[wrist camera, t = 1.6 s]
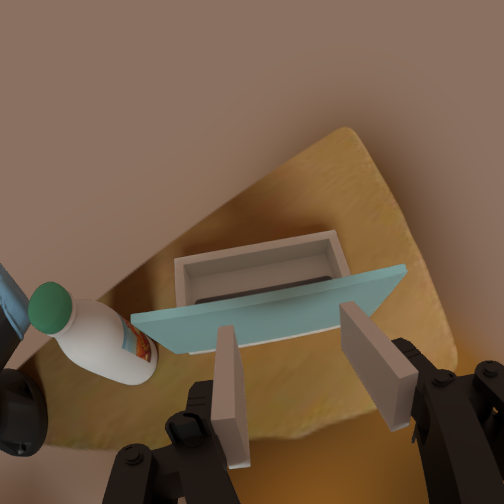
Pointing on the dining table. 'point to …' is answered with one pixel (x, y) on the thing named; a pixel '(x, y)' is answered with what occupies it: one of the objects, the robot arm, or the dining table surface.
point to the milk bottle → (93, 335)
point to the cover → (268, 312)
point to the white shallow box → (259, 271)
